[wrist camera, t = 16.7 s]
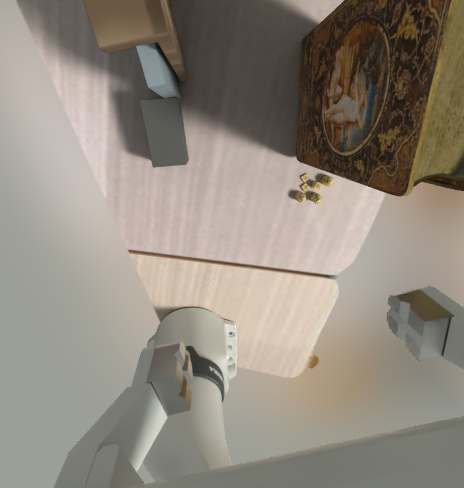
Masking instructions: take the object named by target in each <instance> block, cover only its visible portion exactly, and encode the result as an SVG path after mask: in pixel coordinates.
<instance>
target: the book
mask: <svg viewBox="0 0 464 488" xmlns="http://www.w3.org/2000/svg"><path fill="white" fill-rule="evenodd" d="M296 157H297V160H298V161H299V162H301V163H304V164H307V165H310V166H312V167H315V168H318V169H321V170H324V171H326V172H329V173H332V174H335V175H338V176H340V177H343V178H346V179H349V180H352V181H354V182H357V183H360V184H363V185H366V186H368V187H371V188H374V189H377V190H379V191H382V192H385V193H388V194H391V195H395V196H407V195H409V194H410V193H411V191H412V189H413V187H414V186H416V185H417V184H418V183H420V182H426V183H429V184H434V185H438V186H442V187H446V188H450V189H455V190H461V191H464V0H344V1H343V2H342V3H341V4H340V5H339V6H338V7H337V8H336V9H335V10H334V11H333V12H332V13H331V14H329V15H328V16H327V17H326V18H325V19H324V20H323V21H322V22H321V23H320V24H319V25H318V26H317V27H316V28H315V29H313V30H312V31H311V32H310V33H309V34H308V35H307V36H306V37H305V38H304V39H303V41H302V42H301V57H300V79H299V100H298V122H297V147H296Z"/></svg>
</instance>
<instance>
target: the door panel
mask: <svg viewBox="0 0 464 488" xmlns="http://www.w3.org/2000/svg"><path fill="white" fill-rule="evenodd" d="M136 48H137V51H138V55H139V58H140V61H141V65H142V68H143V72H144V75H145V78H146V82H147V85H148V88H150V89H151V90H153V91H154V92H156V93H157V94H159V95H160V96H162V97H163V98H177V99H178V100H180V99H181V98H180V94H179V90H178V86H177V82H176V78H175V74H174V70H173V67H172V65H171V64H170V62H169V60H168V59H167V57H166V55H165V54H164V52H163V50H162V49H161V47H160V45H159V44H158V42H154V43H149V44H145V45H141V46H136Z"/></svg>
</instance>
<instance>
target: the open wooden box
mask: <svg viewBox="0 0 464 488" xmlns="http://www.w3.org/2000/svg"><path fill="white" fill-rule="evenodd" d="M83 2H84V5H85V8H86V11H87V14H88V17H89V19H90V22H91V25H92V28H93V31H94V34H95V37H96V40H97V43H98V45H99V48H101V49H102V50H103V51H105V52H106V53H110V52H114V51H119V50H123V49H127V48H132V47H136V46H141V45H145V44H149V43H154V42H158V44H159V45H160V47H161V49H162V50H163V52H164V54H165V55H166V57H167V59H168V60H169V62H170V64H171V65H172V67H173V69H174V70H175V72H176V74H177V76H178V77H179V79H180V81H181V82H182V81H186V80H188V77H187V73H186V68H185V64H184V60H183V56H182V51H181V47H180V43H179V39H178V34H177V30H176V26H175V22H174V17H173V13H172V9H171V5H170V0H83Z"/></svg>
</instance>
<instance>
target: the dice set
mask: <svg viewBox="0 0 464 488" xmlns="http://www.w3.org/2000/svg"><path fill="white" fill-rule="evenodd" d="M301 178H302V180H303V182H305V181H307V180H308V179H309V177H308V175H307V174H304V175H303V176H301ZM322 183H323V184H324V185H326V186H331V185H332V184H333V178H332V177H330V176H324V177H323V178H322ZM321 186H322V185H321V184H319V182H316V181H315V182H313V183H312V188H315V189H317V190H319V189H320V188H321ZM301 188H302V189H303V190H304V191H306V190H307V189H308V188H309V186H308V185H307V184H306V183H304V184H303V185H302V186H301ZM295 198H296V200H297V201H299V202H303V201H304V200H305V199H306V196H305V195H304V194H303V193H302V192H297V193H296V194H295ZM311 200H312V201H313V202H314V203H319V202H320V201H321V200H322V197H321V196H320V195H319V194H317V193H313V194H312V195H311Z"/></svg>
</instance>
